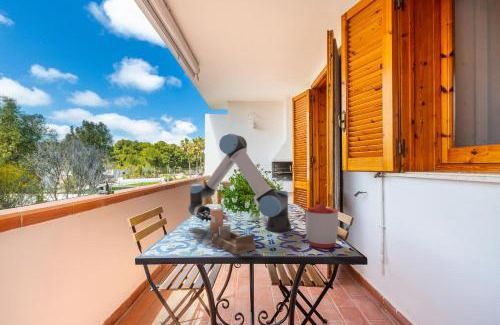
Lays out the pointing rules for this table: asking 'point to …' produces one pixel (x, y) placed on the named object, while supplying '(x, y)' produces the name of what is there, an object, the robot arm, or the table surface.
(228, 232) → the pusher
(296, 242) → the table surface
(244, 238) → the tray
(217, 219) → the jar
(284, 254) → the table surface
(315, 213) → the citrus juicer
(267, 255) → the table surface
